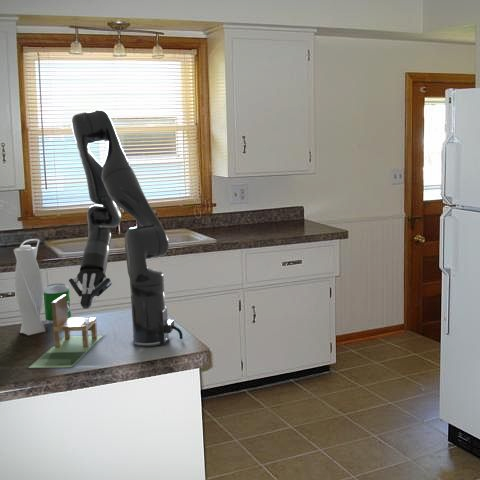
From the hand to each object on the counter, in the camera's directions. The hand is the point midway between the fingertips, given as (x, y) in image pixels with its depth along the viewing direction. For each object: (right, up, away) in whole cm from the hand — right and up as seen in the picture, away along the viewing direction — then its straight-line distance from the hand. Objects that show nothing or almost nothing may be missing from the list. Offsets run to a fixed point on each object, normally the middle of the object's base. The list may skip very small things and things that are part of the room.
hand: (85, 307), depth 215 cm
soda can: (-13, -6, +14) cm, 20 cm away
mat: (0, -11, -15) cm, 18 cm away
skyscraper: (-17, -8, +4) cm, 19 cm away
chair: (0, -9, -8) cm, 12 cm away
